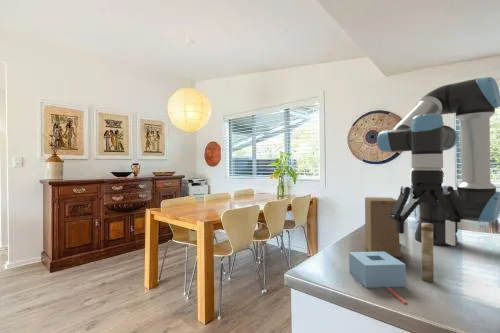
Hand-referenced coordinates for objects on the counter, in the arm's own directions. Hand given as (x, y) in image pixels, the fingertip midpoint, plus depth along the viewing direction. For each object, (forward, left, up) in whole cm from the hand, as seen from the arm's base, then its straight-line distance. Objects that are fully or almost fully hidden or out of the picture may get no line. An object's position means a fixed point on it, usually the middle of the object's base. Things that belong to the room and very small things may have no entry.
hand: (426, 244), depth 78 cm
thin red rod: (+14, +8, -10) cm, 19 cm away
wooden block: (0, -25, -10) cm, 27 cm away
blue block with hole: (+14, -2, -10) cm, 17 cm away
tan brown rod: (0, 0, -10) cm, 10 cm away
